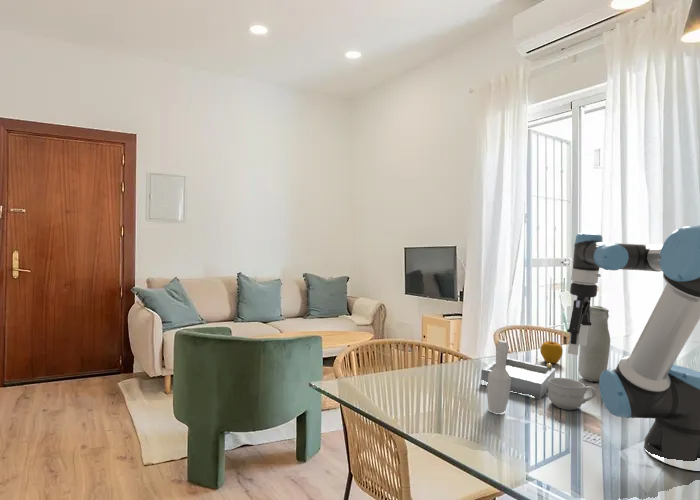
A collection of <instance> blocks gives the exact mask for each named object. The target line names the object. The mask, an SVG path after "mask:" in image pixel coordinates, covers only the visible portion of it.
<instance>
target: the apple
mask: <svg viewBox="0 0 700 500" xmlns="http://www.w3.org/2000/svg"><path fill="white" fill-rule="evenodd" d="M540 354H541V356H542V358H543V359H544V360H545V362H546V363H548V362H549V363H556V364H557V363H559V362H560V360H561V358H562V357H563V346H562V345H561V344H560V343H558V342H556V341H549V340H547V341H544V342H543V343H542V344H541V346H540Z"/></svg>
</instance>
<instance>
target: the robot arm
mask: <svg viewBox="0 0 700 500" xmlns="http://www.w3.org/2000/svg"><path fill="white" fill-rule="evenodd" d="M573 246H574V249H573V257H572V258H573V261H572V268H571V278H570V280H571V281H572V282H570V288H569V289H570V290H569V292H570V295H573V296H575V297H576V299H574V300H573V305H572V312H571V317H570V321H569V328H567V330H566V332H567V333H569V338H568V339H569V340H568V349H567V354H570V355H573V356H579V355H578V354H579V349H580V345H584V346H586V345H587V336H588V326H587V325H589V326H591V322H590V307H591V299H592V298H595V297H597V296H598V295H597V294H598V285H597V284H598V282H599V278H600V277H601V276H602V275H601V274H600V273H599V272H600V268H601V269H603V270H606V271H619V270H622V271H623V270H625V271H626V270H628V271H645V272H646V271H647V272H662V276H663V280H664V281H665V283H666V285H665V287H664V288H663V291H662V292H661V295H660V297H659V298H658V300H657V303H656V305H655V307H654V308H653V310H652V311H651V314H650V317H649V318H648V320H647V322H646V324H645V325H644V328H643V330H642V332H641V333H640V335H639V338H638V340H637V342H636V343H635V345H634V348H633V349H632V351H631V354H629V355H627V356H624V357H622V358H620V360H619V362H618V363H617V365H616V368H614V369H612V368H607V370H604V371H603V372H602V373H601V375H600V380H599V381H598V382H599V385H598V386H599V393H600V396H601V397H600V398H601V400H602V402H603V406H604V407H605V408H606V410H607V411H608V412H609V413H610V414H611V415H613V416H615V417H621V418H626V419H631V418H632V419H634V418H635V419H654V423H652V425H651V427H650V429H649V431H648V433H647V435H646V436H645V438H644V443H643V449H644V448H645V449H646V450H647V451H648V452H650V453H651V454H655V455H658V456H660V457H664V458H667V459H676V460H683V461H695V460H697V458H700V371H697V370H695V369H691V368H688V367H684V366H680V365H676V364H675V362H676V361H677V359H678V357H679V355H680V354H681V352H682V350H683V349H684V347H685V345H686V343H687V342H688V340H689V338H690V336H691V335H692V333H693V331H694V329H695V328H696V326H697V325H698V323H699V321H700V224H699V225H687V226H683V227H680V228H677V229H675V230H674V231H673V232H672V233H670V234H669V235H668V237H666V239H665V240H664V242H663V243H661V244H660V243H659V244H636V243H617V242H604V241H603V236H602V235H601V234H599V233H587V232H581V233H580V232H579V233H576V236H575V241H574V244H573ZM645 449H644V450H645Z"/></svg>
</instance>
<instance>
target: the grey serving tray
mask: <svg viewBox="0 0 700 500" xmlns="http://www.w3.org/2000/svg"><path fill="white" fill-rule="evenodd" d="M495 363H496V359H494V360H493V361H492V362H490V363H489V364H487V365H486V366H485V367H483V368H482V369H481V373H480V374H481V375H480V376H481V377H480V381H481V380H484V381H486V382H488V374H489V373H490V372H491V371H492V370H493V369H494V368H495ZM552 366H553V364H551V363H548V362H546V366H545V365H540V364H536V363H532V362H528V361H522V360H519V359H516V358H515V359H514V358H509V357H507V359H506V370H507V372H508V374H509V375H510V377H511V386H510V391H513V392H517V393H522V394H529V395H532V396H534V397H535V398H537V399H536V400H538V401H540V400H541V399H542V398H544V396H545V394H547V393H548V387H549V379H550V378H556V377H555V376H556V368H555V367H552Z"/></svg>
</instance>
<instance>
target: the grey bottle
mask: <svg viewBox="0 0 700 500" xmlns="http://www.w3.org/2000/svg"><path fill="white" fill-rule="evenodd" d="M609 311H610V310H609V309H607V308H606V307H603V306H600V305H590V322H591V326H589V325H587V326H588V336H587V345H586V346H584V345H579V355H578V356H579V357H578V373H579V376H580V377H581V378H583V379H585V380H587V381H589V382H599V380H600V375H601V373H602V372H603V371H604V370H608V366H609V359H610V358H609V357H610V350H611V337H610V335H611V334H610V331H609V323H608V322H609V321H608V320H609V317H610V315H609Z"/></svg>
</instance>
